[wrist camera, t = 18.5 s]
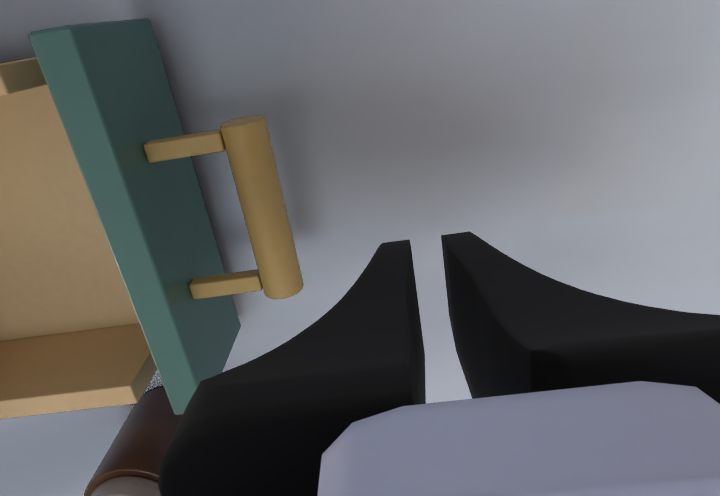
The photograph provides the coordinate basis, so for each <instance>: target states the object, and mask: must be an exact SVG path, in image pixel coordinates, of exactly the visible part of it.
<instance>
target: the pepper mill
mask: <svg viewBox="0 0 720 496" xmlns="http://www.w3.org/2000/svg"><path fill="white" fill-rule="evenodd" d="M182 415H183V414H179V415H176V414H174V411H173V409H172V406H171V403H170V401H169V398H168V396H167V393H166V390H165V388H164V387H160V388H156V389H153V390H151V391H149V392H147V393H145V394H144V395H143V396H142V397H141V398H140V400H139V401H138V403H136V404H135V406H134V407H133V409H132V411H131V412H130V414H129V416H128V418H127V419H126V421H125V423H124V424H123V426H122V428H121V429H120V431H119V433H118V435H117V436H116V438H115V440H114V441H113V443H112V445H111V447H110V448H109V450H108V452H107V453H106V455H105V457H104V459H103V460H102V462H101V464H100V465H99V467H98V469H97V471H96V472H95V474H94V476H93V477H92V479H91V481H90V482H89V484H88V486H87V488H86V490H85V493H84V496H161V495H160V491H159V487H158V480H159V472H160V464H161V462H162V460H163V457H164V455H165V453H166V451H167V449H168V446H169V444H170V442H171V440H172V437H173V435H174V433H175V431H176V428H177V426H178V424H179V422H180V420H181V417H182Z"/></svg>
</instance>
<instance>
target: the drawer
mask: <svg viewBox="0 0 720 496" xmlns="http://www.w3.org/2000/svg"><path fill="white" fill-rule="evenodd" d="M29 39H30V42H31V44H32V47H33V49H34V52H35V55H36V57H34V58H29V59H23V60H17V61H12V62H6V63H0V419H5V418H14V417H22V416H31V415H40V414H48V413H57V412H66V411H74V410H83V409H92V408H100V407H109V406H118V405H126V404H135V403H138V401H139V400H140V398H141V396H142V394H143V393H144V391H145V389H146V388H147V386H148V384H149V382H150V381H151V379H152V377H153V375H154V374H155V372H156V370H158V372H159V375H160V378H161V380H162V383H163V385H164V388H165V390H166V393H167V396H168V398H169V401H170V403H171V406H172V409H173V411H174V414H176V415H179V414H183V413H184V411H185V409H186V407H187V405H188V403H189V401H190V399H191V398H192V396H193V394H194V392H195V391H196V389H197V387H198V385H199V383H200V382H201V381H202V380H205V379H208V378H210V377H213V376H215V375H218V374H220V373H222V371H223V369H224V366H225V364H226V361H227V359H228V356H229V354H230V351H231V349H232V346H233V344H234V341H235V339H236V336H237V334H238V331H239V329H240V326H241V325H240V322H239V318H238V315H237V311H236V308H235V305H234V301H233V298H232V294H239V293H247V292H254V291H261V290H262V288H263V290H264V293H265V295H266V296H267V297H268V298H271V299H283V298H287V297H290V296H293V295H295V294H297V293H298V292H299V291H301V289H302V288H303V280H302V275H301V271H300V267H299V262H298V258H297V254H296V249H295V245H294V241H293V236H292V232H291V228H290V223H289V219H288V215H287V210H286V206H285V202H284V197H283V193H282V189H281V184H280V180H279V176H278V171H277V167H276V163H275V158H274V154H273V150H272V146H271V141H270V137H269V133H268V128H267V124H266V120H265V117H264V116H261V115H253V116H246V117H241V118H236V119H232V120H229V121H226V122H224V123H222V124H221V125H220V129H219V130H213V131H207V132H200V133H194V134H188V135H184V133H183V129H182V126H181V123H180V119H179V116H178V112H177V109H176V106H175V102H174V99H173V96H172V92H171V89H170V85H169V82H168V79H167V75H166V72H165V69H164V65H163V62H162V58H161V55H160V52H159V48H158V45H157V42H156V38H155V35H154V31H153V28H152V25H151V21H150V20H149V19H148V18H144V19H133V20H122V21H111V22H100V23H90V24H79V25H68V26H62V27H57V28H51V29H46V30H40V31H35V32H31V33H29ZM225 149H226V151H227V155H228V159H229V163H230V166H231V170H232V174H233V178H234V181H235V185H236V189H237V192H238V196H239V200H240V204H241V207H242V211H243V215H244V219H245V222H246V226H247V230H248V234H249V237H250V241H251V245H252V249H253V252H254V256H255V260H256V264H257V267H258V270H250V271H243V272H235V273H228V274H225V271H224V268H223V264H222V261H221V258H220V254H219V251H218V247H217V244H216V241H215V237H214V234H213V231H212V227H211V224H210V220H209V217H208V214H207V210H206V207H205V204H204V200H203V197H202V193H201V190H200V187H199V183H198V180H197V177H196V173H195V170H194V166H193V163H192V160H191V156H196V155H203V154H209V153H216V152H222V151H224V150H225Z"/></svg>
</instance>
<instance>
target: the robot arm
mask: <svg viewBox="0 0 720 496" xmlns="http://www.w3.org/2000/svg"><path fill="white" fill-rule="evenodd" d="M441 238H442V248H443V258H444V268H445V278H446V287H447V297H448V307H449V316H450V321H451V326H452V332H453V337H454V342H455V347H456V351H457V354H458V357H459V360H460V363H461V366H462V369H463V372H464V375H465V378H466V381H467V384H468V387H469V390H470V393H471V396H472V399H466V400H457V401H447V402H438V403H429V404H426V401H425V354H424V346H423V338H422V330H421V323H420V315H419V307H418V299H417V291H416V283H415V276H414V268H413V260H412V252H411V245H410V240H403V241H395V242H387V243H382V244H381V245H380V246H379V248H378V249H377V251H376V252H375V254H374V256H373V258H372V259H371V261H370V262H369V264H368V265H367V267H366V268H365V270H364V271H363V273H362V274H361V275H360V277H359V278H358V280H357V281H356V282H355V284H354V285H353V286H352V287H351V288H350V290H349V291H348V292H347V293H346V294H345V295H344V297H343V298H342V299H341V300H340V301H339V302H338V303H337V304H336V305H335V306H334V307H333V308H332V309H331V310H329V311H328V312H327V313H326V314H325V315H324V316H322V317H321V318H320V319H319V320H318V321H316V322H315V323H314V324H312V325H311V326H309V327H308V328H306V329H305V330H304V331H302V332H301V333H299V334H298V335H296V336H295V337H293V338H292V339H291V340H289V341H287V342H286V343H284V344H282V345H280V346H279V347H277V348H275V349H273V350H272V351H270V352H268V353H266V354H264V355H262V356H260V357H258V358H256V359H254V360H252V361H250V362H247V363H245V364H243V365H240V366H238V367H235V368H233V369H230V370H228V371H225V372H223V373H220V374H218V375H215V376H213V377H210V378H208V379H205V380H202V381H201V382H200V383H199V385H198V387H197V389H196V391H195V392H194V394H193V396H192V398H191V399H190V401H189V403H188V405H187V407H186V409H185V411H184V413H183V415H182V417H181V420H180V422H179V424H178V426H177V428H176V431H175V433H174V435H173V437H172V440H171V442H170V444H169V446H168V449H167V451H166V453H165V455H164V457H163V460H162V462H161V464H160V472H159V480H158V487H159V491H160V495H161V496H720V315H711V314H699V313H687V312H680V311H673V310H667V309H661V308H654V307H648V306H643V305H638V304H633V303H628V302H624V301H620V300H616V299H612V298H608V297H604V296H601V295H597V294H593V293H590V292H587V291H584V290H580V289H578V288H575V287H572V286H570V285H567V284H564V283H562V282H559V281H556V280H554V279H551V278H549V277H547V276H545V275H542V274H540V273H538V272H536V271H534V270H532V269H530V268H528V267H526V266H524V265H523V264H521V263H519V262H517V261H515V260H514V259H512V258H510V257H508V256H507V255H505V254H503V253H502V252H500V251H499V250H497V249H495V248H494V247H492V246H491V245H489V244H488V243H486V242H485V241H483V240H482V239H480V238H479V237H477V236H476V235H474V234H473V233H471V232H463V233H456V234H448V235H441Z"/></svg>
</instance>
